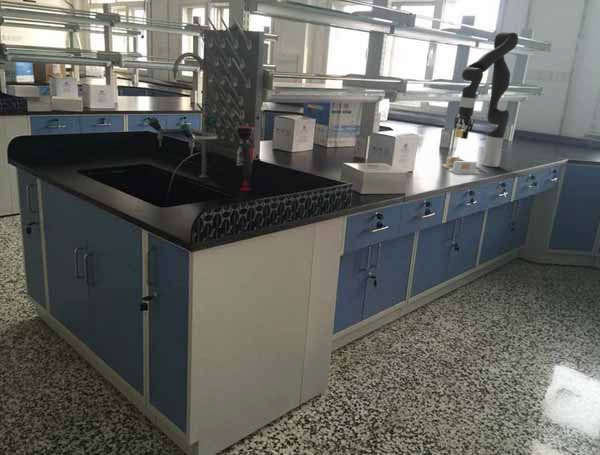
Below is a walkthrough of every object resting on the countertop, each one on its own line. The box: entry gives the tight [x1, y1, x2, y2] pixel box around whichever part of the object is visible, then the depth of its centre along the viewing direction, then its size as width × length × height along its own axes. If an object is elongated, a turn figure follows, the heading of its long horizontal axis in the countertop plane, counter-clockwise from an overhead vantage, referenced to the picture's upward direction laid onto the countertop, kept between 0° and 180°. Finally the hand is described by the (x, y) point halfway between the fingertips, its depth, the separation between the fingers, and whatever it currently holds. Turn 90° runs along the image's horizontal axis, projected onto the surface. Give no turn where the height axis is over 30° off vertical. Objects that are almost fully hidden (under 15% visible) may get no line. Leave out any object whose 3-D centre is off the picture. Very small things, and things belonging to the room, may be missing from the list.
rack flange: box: [448, 160, 480, 175], centre depth 285 cm, size 14×8×6 cm, turn 111°
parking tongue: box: [441, 156, 460, 170], centre depth 296 cm, size 8×8×6 cm
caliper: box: [456, 155, 490, 174], centre depth 296 cm, size 20×1×6 cm, turn 52°
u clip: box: [454, 128, 469, 139], centre depth 286 cm, size 4×6×4 cm
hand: (461, 137), depth 287 cm, fingers closed on u clip, 5 cm apart
